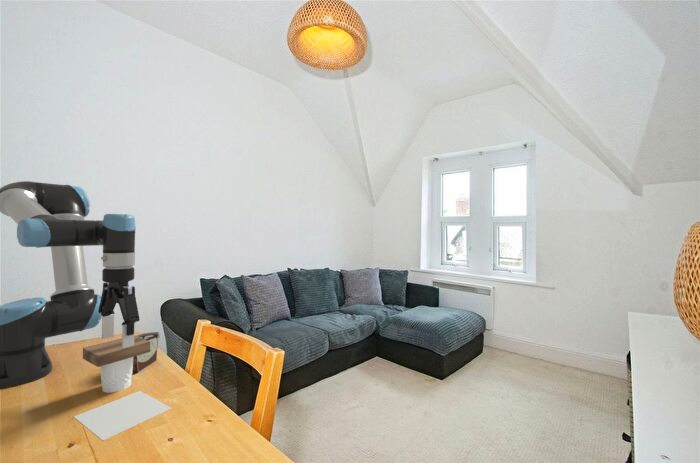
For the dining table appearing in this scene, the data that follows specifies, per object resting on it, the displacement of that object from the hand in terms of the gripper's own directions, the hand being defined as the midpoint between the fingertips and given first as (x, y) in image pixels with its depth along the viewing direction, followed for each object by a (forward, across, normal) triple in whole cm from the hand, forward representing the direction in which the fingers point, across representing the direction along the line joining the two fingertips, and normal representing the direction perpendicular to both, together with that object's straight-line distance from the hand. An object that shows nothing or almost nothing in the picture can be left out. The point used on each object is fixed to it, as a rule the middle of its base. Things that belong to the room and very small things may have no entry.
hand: (117, 341), depth 92 cm
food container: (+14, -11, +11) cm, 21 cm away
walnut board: (+4, 0, 0) cm, 4 cm away
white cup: (+14, 0, 0) cm, 14 cm away
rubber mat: (+14, +16, -5) cm, 22 cm away
